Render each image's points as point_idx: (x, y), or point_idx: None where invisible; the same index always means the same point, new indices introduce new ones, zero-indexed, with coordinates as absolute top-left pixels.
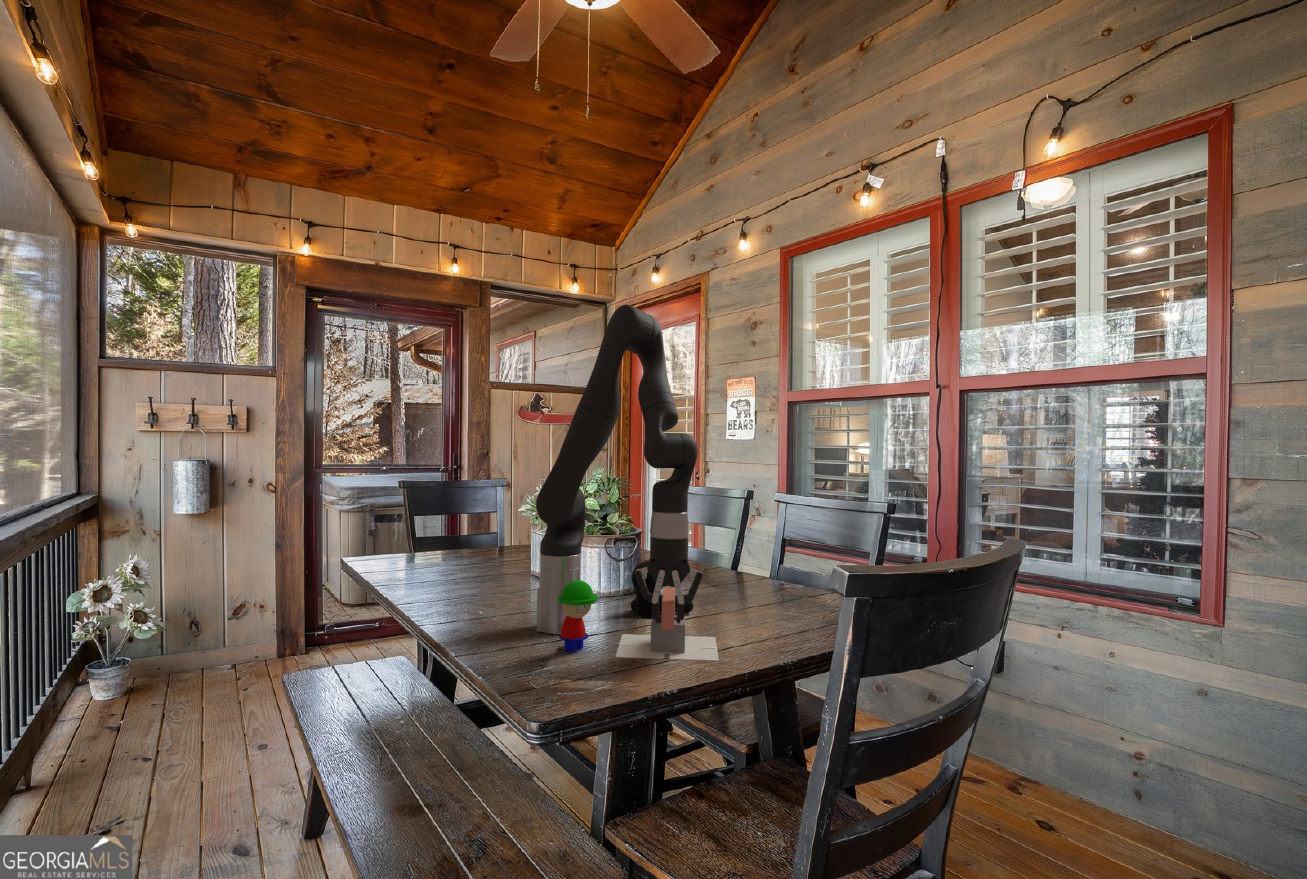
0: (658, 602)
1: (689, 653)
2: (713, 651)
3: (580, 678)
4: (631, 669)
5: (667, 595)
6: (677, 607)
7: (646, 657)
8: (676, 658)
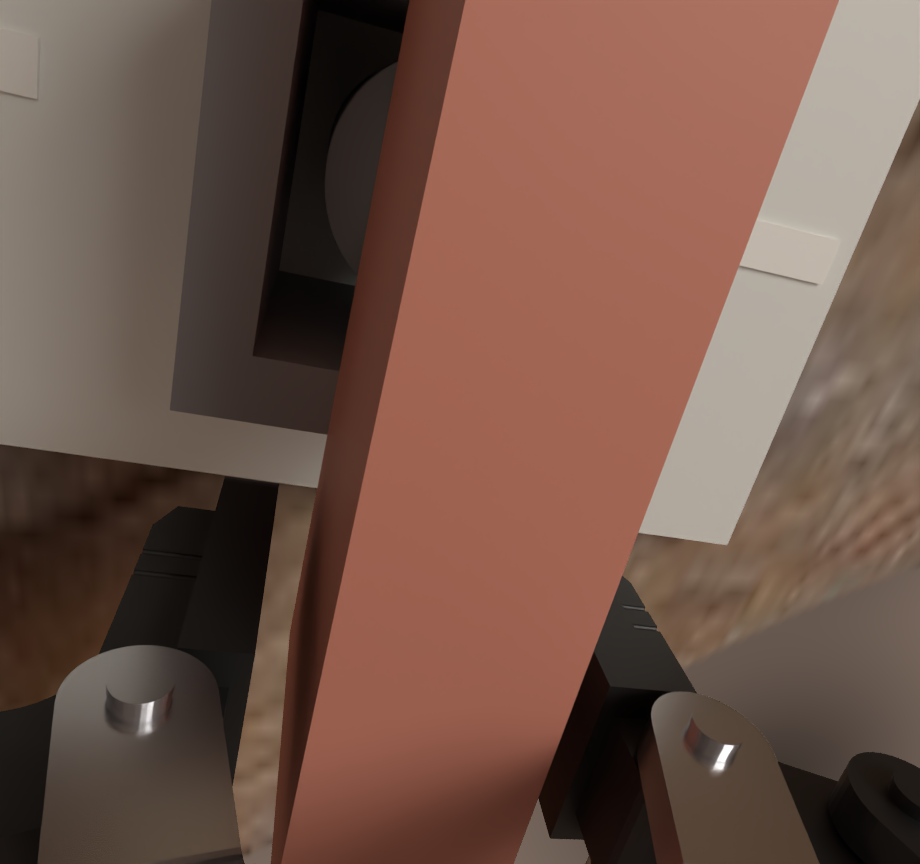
0: (224, 722)
1: None
2: (778, 351)
3: None
4: (59, 540)
5: (522, 327)
6: (544, 794)
7: (175, 456)
8: None
